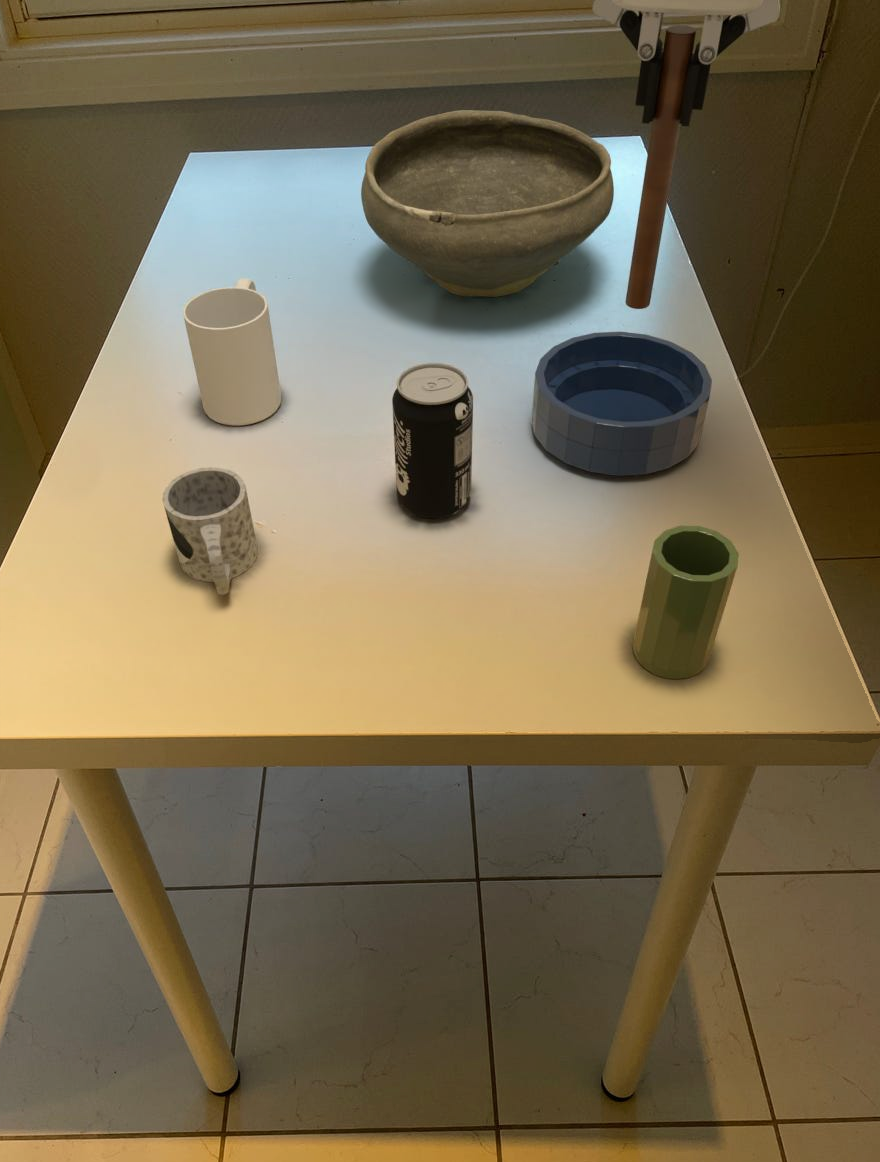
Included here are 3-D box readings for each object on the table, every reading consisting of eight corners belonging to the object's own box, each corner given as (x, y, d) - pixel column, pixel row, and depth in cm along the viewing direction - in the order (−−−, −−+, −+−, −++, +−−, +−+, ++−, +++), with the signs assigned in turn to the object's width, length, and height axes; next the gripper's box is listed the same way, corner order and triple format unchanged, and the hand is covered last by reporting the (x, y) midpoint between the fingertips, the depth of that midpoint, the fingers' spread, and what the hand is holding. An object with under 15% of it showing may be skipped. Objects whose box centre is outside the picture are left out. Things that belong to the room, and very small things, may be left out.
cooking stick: (651, 298, 81) (697, 25, 66) (648, 310, 79) (695, 34, 65) (626, 296, 81) (667, 24, 66) (623, 307, 80) (664, 33, 65)
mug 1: (272, 429, 94) (256, 330, 86) (194, 425, 95) (171, 327, 87) (297, 362, 102) (285, 266, 94) (225, 359, 103) (207, 264, 95)
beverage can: (385, 489, 87) (378, 372, 78) (450, 468, 89) (450, 352, 80) (416, 532, 83) (412, 413, 74) (484, 509, 84) (488, 391, 76)
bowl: (404, 216, 125) (400, 98, 115) (618, 235, 119) (634, 113, 109) (335, 324, 107) (323, 196, 97) (583, 353, 101) (598, 220, 91)
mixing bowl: (704, 397, 95) (717, 342, 90) (690, 494, 85) (704, 437, 80) (548, 377, 98) (553, 323, 94) (516, 468, 88) (520, 412, 84)
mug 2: (176, 536, 83) (159, 474, 79) (252, 523, 84) (240, 461, 79) (185, 616, 77) (167, 554, 72) (267, 601, 78) (255, 539, 73)
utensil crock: (711, 631, 74) (740, 532, 66) (705, 686, 70) (735, 588, 63) (637, 617, 75) (658, 519, 68) (627, 671, 71) (648, 573, 64)
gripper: (574, -212, 55) (548, 129, 69) (868, -212, 52) (780, 146, 65) (594, -229, 60) (566, 93, 74) (864, -231, 57) (783, 107, 70)
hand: (667, 116), depth 69 cm, fingers closed on cooking stick, 2 cm apart
